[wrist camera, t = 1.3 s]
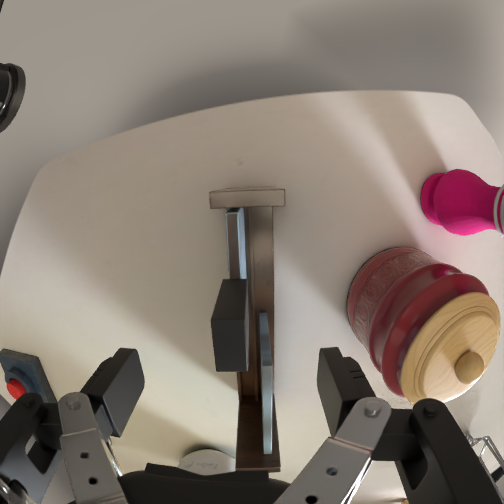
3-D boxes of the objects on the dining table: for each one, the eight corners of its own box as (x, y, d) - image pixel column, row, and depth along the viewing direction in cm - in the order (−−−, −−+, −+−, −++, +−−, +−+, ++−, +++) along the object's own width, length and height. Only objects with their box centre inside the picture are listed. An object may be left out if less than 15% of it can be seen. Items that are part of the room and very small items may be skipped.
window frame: (228, 188, 30) (209, 191, 17) (270, 186, 30) (284, 189, 17) (240, 393, 36) (235, 473, 23) (273, 392, 36) (280, 472, 23)
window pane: (231, 201, 29) (202, 227, 12) (247, 201, 29) (241, 225, 12) (236, 310, 31) (223, 427, 15) (251, 310, 31) (251, 427, 15)
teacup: (217, 433, 38) (211, 473, 30) (258, 465, 40) (258, 501, 32) (156, 454, 40) (145, 488, 32) (197, 483, 42) (192, 515, 34)
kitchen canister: (354, 357, 35) (407, 458, 18) (332, 266, 32) (405, 348, 15) (437, 320, 34) (516, 390, 17) (427, 230, 31) (535, 270, 14)
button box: (3, 348, 36) (-10, 358, 32) (38, 356, 36) (25, 369, 32) (22, 392, 38) (12, 403, 34) (58, 403, 38) (47, 416, 34)
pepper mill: (427, 158, 29) (563, 155, 10) (466, 186, 30) (590, 203, 10) (408, 213, 31) (543, 254, 11) (448, 237, 31) (570, 286, 12)
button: (8, 376, 33) (3, 381, 31) (21, 380, 33) (16, 386, 31) (16, 392, 34) (11, 398, 32) (29, 397, 34) (24, 403, 32)
